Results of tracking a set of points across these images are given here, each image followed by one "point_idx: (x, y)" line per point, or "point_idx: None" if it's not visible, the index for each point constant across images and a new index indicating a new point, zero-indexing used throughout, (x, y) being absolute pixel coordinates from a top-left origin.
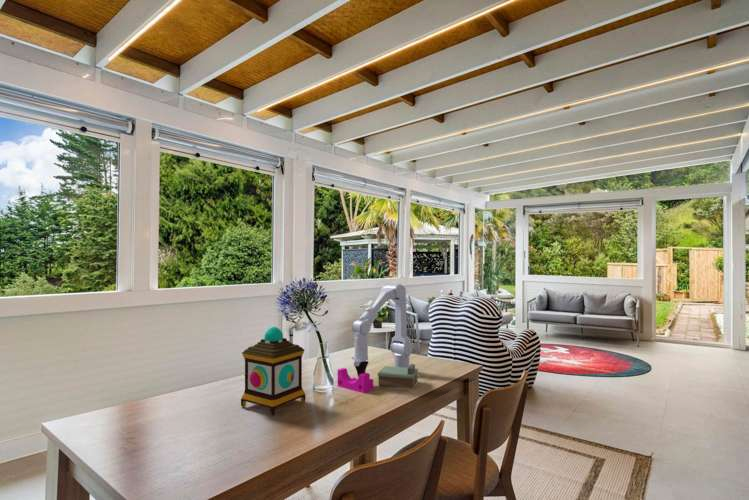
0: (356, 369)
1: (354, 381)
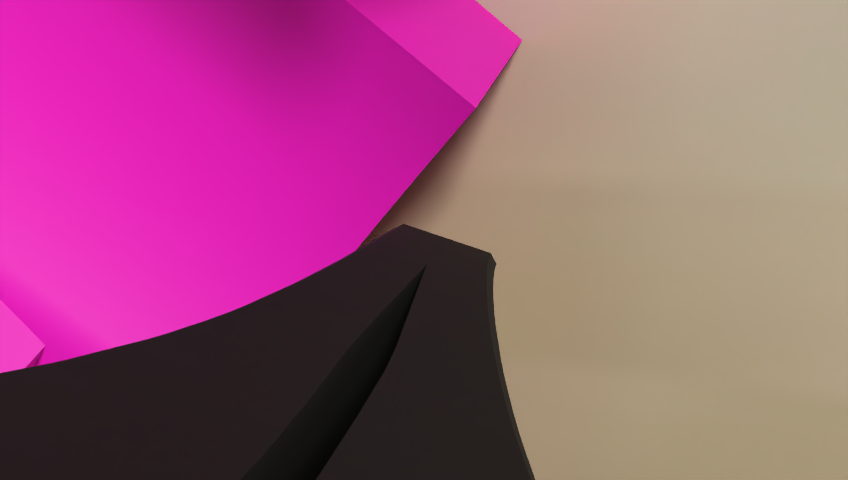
0: (124, 352)
1: (183, 74)
